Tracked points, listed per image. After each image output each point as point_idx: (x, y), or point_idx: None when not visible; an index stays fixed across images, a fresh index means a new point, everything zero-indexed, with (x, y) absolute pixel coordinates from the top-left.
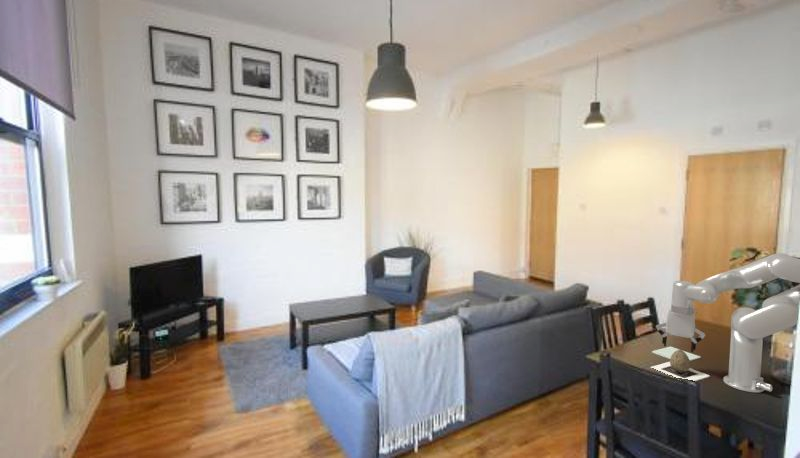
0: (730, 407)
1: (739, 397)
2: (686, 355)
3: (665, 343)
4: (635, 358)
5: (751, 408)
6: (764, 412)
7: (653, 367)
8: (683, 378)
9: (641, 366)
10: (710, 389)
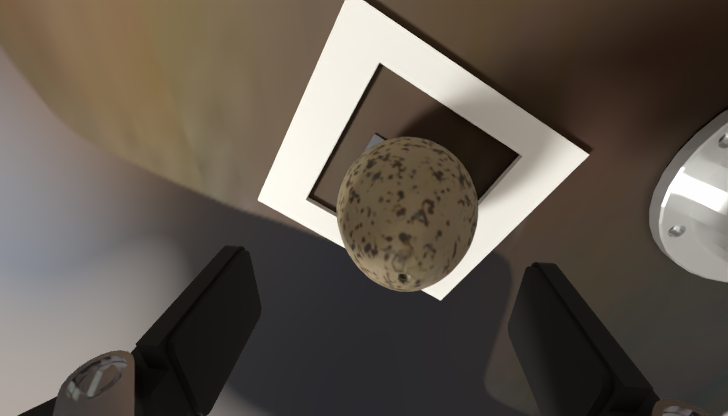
0: None
1: (636, 336)
2: (457, 261)
3: (241, 340)
4: (141, 79)
5: None
6: None
7: (271, 199)
8: None
9: (217, 198)
10: None
